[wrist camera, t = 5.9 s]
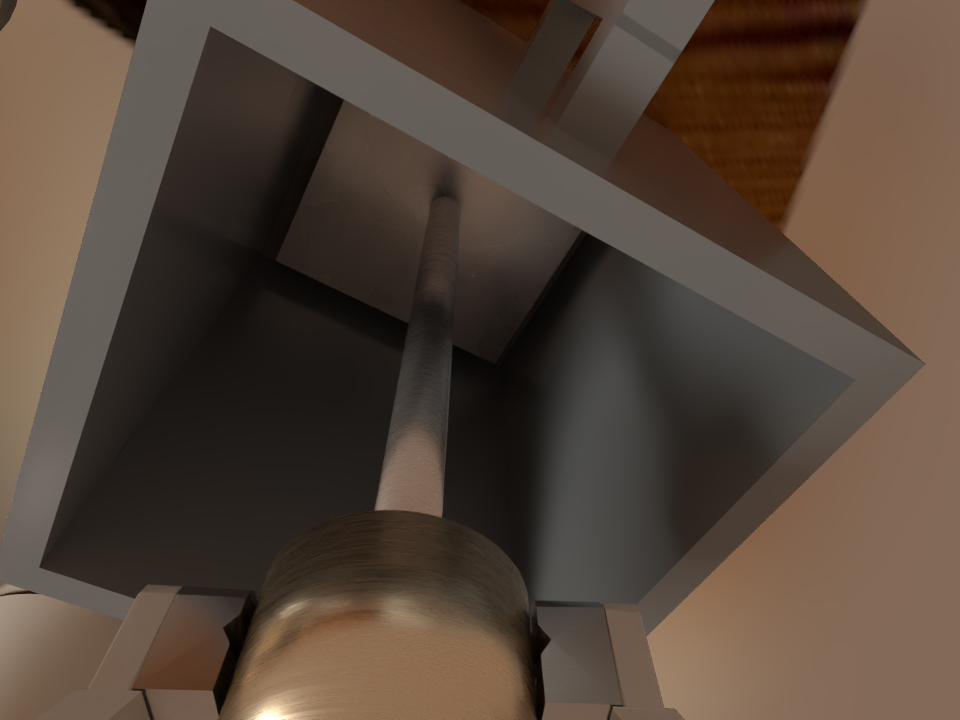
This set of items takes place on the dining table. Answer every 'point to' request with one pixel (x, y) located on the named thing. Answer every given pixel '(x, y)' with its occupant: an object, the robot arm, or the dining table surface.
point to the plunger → (404, 451)
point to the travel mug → (6, 11)
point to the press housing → (381, 337)
